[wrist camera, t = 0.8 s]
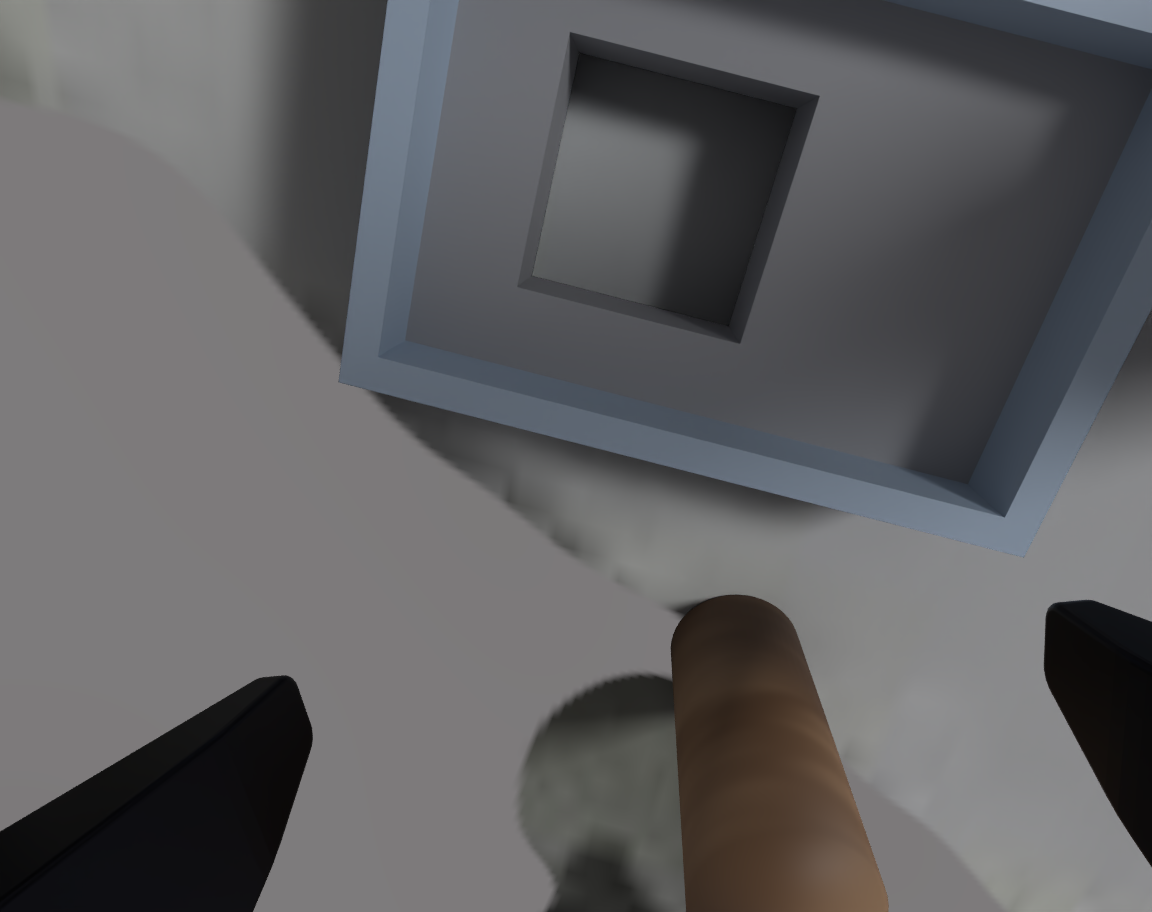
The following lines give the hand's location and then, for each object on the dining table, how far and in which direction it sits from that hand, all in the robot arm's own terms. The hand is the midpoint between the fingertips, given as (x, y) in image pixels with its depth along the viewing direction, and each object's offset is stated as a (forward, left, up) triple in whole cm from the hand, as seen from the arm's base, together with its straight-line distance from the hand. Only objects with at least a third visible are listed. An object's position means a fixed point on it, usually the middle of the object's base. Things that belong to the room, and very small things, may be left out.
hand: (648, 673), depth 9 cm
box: (-1, -5, -13) cm, 14 cm away
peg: (-5, +7, -13) cm, 16 cm away
